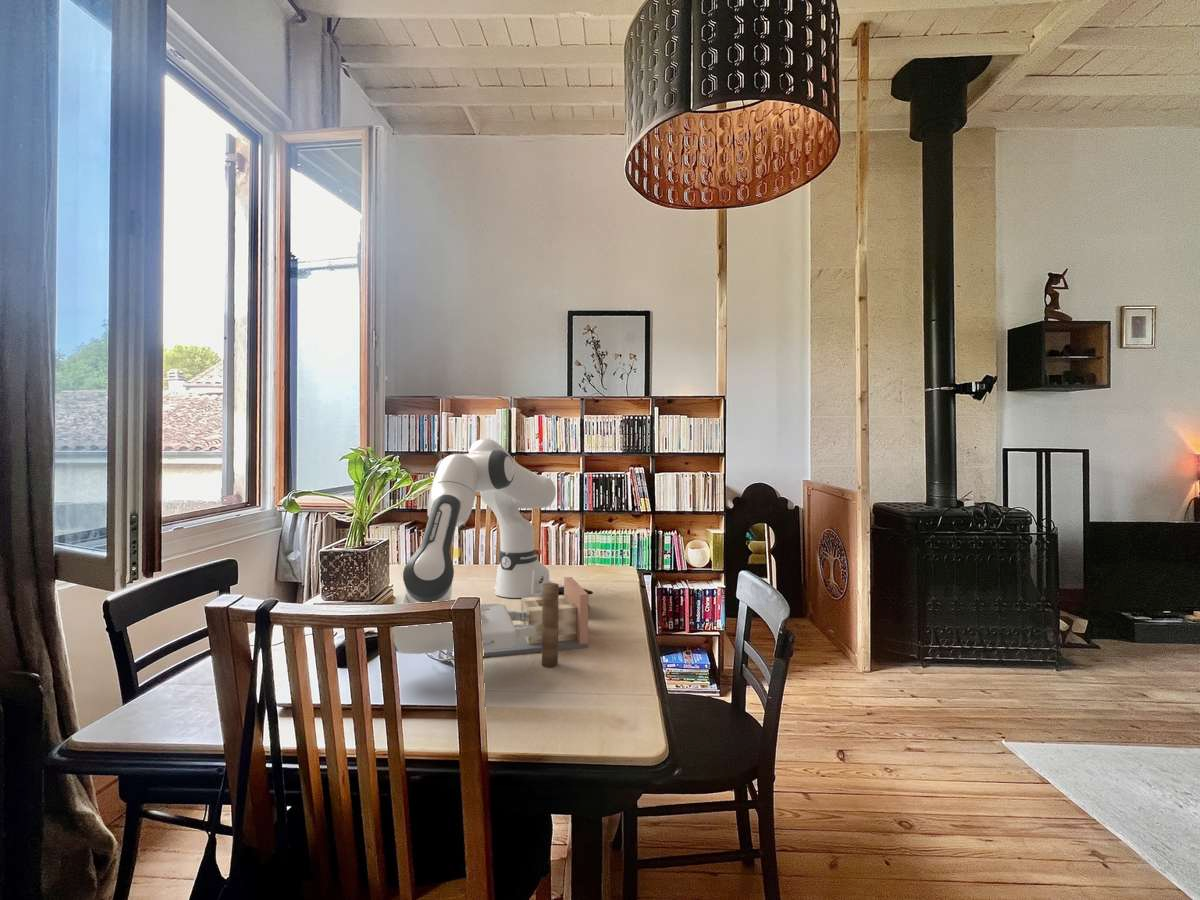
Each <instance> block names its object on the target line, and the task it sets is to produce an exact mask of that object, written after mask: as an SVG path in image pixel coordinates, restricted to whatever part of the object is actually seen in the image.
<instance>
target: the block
mask: <svg viewBox="0 0 1200 900" xmlns="http://www.w3.org/2000/svg"><path fill="white" fill-rule="evenodd" d="M542 598H543V595H542V596H539V597H523V598H521V599H520V600H521V603H520V604H521V607H520V608H521V611H520V612H527V613H528V615H529V620H528V621H523V622H521V621H520V625H521V628H522V627H526V625H534V626H535V629H536V633H535V635H530V636H526V640H527V642H528V644H533V643H542ZM576 637H577V607H576V606H575V605H574V604H573V602H572V601H571V600H570V599H569V598H568V596H567V595H559V600H558V641H566V640H576Z"/></svg>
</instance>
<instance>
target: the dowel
mask: <svg viewBox="0 0 1200 900" xmlns="http://www.w3.org/2000/svg"><path fill="white" fill-rule="evenodd" d="M559 588H560V587H559V584H558V583H556V582H555V583H546V584H543V595H542V596H543V598H542V652H541V666H542V667H543V668H544V667H545V668H547V669H549V668H555V667H557V666H558V665H559V650H558V600H559Z"/></svg>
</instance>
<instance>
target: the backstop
mask: <svg viewBox="0 0 1200 900" xmlns="http://www.w3.org/2000/svg"><path fill="white" fill-rule="evenodd" d="M563 579H564V580H563V582H564V583H563V587H564V595H567V596H568V598H569V599H570V600H571V601H572V602H573V604H574V605H575V606H576V607H577V637H576V640H566V641H558V651H560V650H561V651H563V650H572V649H581V648H582V649H583V648H589V612H588V604H589V595H588V593H587V592H586V591H585V590H584V589H585V588H584V587H582V586H581V585H580V584H579V583H578V582H577V581H576V580H575V579H574V578H573V577H572V576H566V577H564V578H563ZM513 625H514V627H519V628H521V624H513ZM539 652H540V653H542V643H533V644H528V642H527V640H526V637H524V638H521V639H516V647H514V648H511V649H501V650H484V657H483V658H488V657H487V656H491V657H501V656H509V655H510V656H511V655H519V654H520V655H521V654H522V655H523V654H531V653H532V654H533V653H539Z"/></svg>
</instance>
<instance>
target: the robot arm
mask: <svg viewBox="0 0 1200 900" xmlns="http://www.w3.org/2000/svg"><path fill="white" fill-rule="evenodd" d="M433 476H434V478H433V479H432V483H431V487H430V490H429V494H428V500H427V508H426V509H427V513H426V514H427V517H428V520H427V523H426V526H425V530H424V534H423V537H422V540H421V543H420V545H419V547H418V548H417V549H416V551H415V552H414V553H413V555H412V556H411V557H410V558H409V559H408V561H407V562H406V564H405V566H404V568H403V574H402V578H403V584H404V586H405V593H404V595H403V598H402V600H401V602H400V603H415V602H432V601H445V600H450V601H451V599H452V591H453V580H454V574H455V570H454V569H455V568H454V564H453V560H452V557H451V549H452V544H453V541H454V536H455V532H456V528H457V527H460V526H462V525H464V524H465V523H466V522H467V521H468V520H469V518H470V515H471V513H472V511H473V507H474V504H475V499H476V495H477V493H479V494H480V498H481V500H482V502H483V503H484V504H485V505H487V506H488V508H489V509H490V510H491V511H492V512H493V514H494V515H495V518H496V520H497V523H498V526H499V528H498V529H499V541H500V543H499V544H500V549H499V551H498V562H499V564H498V565H497V570H496V578H495V579H496V580H495V585H493V590H494V594H495V595H496V596H499V597H502V598H510V599H511V598H512V599H518V598H519V599H520V598H525V597H540V596H543V584H546V583H556V582H555V581H552V580H550V571H549V569H548V568H547V567H546V566H545V565H544V564H543V563H541V561H539V560H538V556H541V555H542V552H543V551H542V549H541V548H535V528H534V527H535V526H533V524H532V523H531V522H530V521H529V520H527V519H526V518H524V517H523V515H522V514H521V512H520V509H527V510H528V509H531V510H536V509H543V508H549V507H550V506H551V505H552V504H553V503H554V501H555V499H556V493H557V492H556V490H557V489H556V486H555V483H554V482H553V480H552V479H551V478H550V477H546V476H544V475H540V474H537V473H535V472H533V471H531V470H529V469H527V468H526V467H525V466H522V465H521V464H519V463H518V462H517V461H516V460H515V459H514V458H513V457H512V456H511V454H510V453H509V451H508V450H506V449H505V448H504V447H503V445H500V443H498V442H496V440H493V439H491V438H486V437H485V438H480V439H477V440H476V441H475V442H473V443H472V444H471V446H470V447H469V451H468V453H463V454H462V453H453V454H449V455H448V456H446V457H443V458H441V459H440V460H439V461H438V462H437V464H436V465H435V467H434V471H433ZM480 604H481V620H482V642H483V649H484V650H501V649H511V648H514V647H516V639H521V638H524V637H526V636H530V635H535V633H536V629H535V626H534V625H526V627H522V628H519V627H514V625H515V624H514V623H513V621H515V622H516V621H519V622H520V623H521V622H523V621H528V620H529V615H528V613H527V612H521V611H517V610H516V611H515V610H508V609H507V608H508V607H507V606H506V605H505V604H502V603H480ZM393 634H394V644H395V650H394V651H396V652H397V653H398V654H406V655H410V654H411V655H416V654H417V655H419V654H420V655H421V654H432V653H433V654H434V653H436V652H440V651H451V652H454V651H453V632H452V624H451V623H441V624H430V625H418V626H408V627H394V628H393Z"/></svg>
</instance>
